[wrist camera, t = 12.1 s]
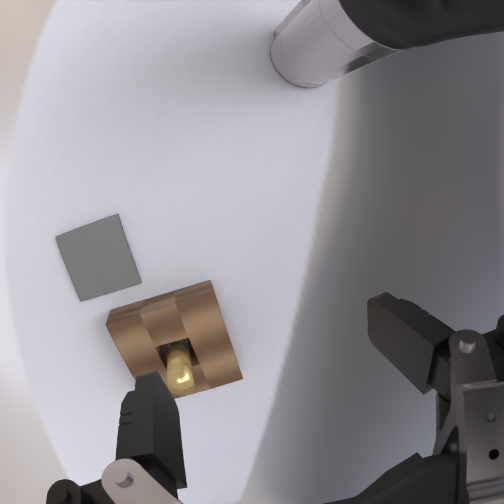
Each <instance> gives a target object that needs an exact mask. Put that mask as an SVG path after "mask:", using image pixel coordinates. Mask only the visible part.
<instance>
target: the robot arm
mask: <svg viewBox="0 0 504 504" xmlns="http://www.w3.org/2000/svg"><path fill="white" fill-rule="evenodd" d="M501 31H504V0H301V1H300V2H299V3H298V5H297V6H296V7H295V8H294V9H293V10H292V11H291V12H290V13H289V15H288V16H287V17H286V18H285V19H284V20H283V21H282V23H281V24H280V25H279V26H278V27H277V28H276V30H275V31H274V32H275V39H274V41H273V43H272V46H271V59H272V62H273V64H274V66H275V68H276V70H277V71H278V72H279V74H280V75H281V76H282V77H283V78H285V79H286V80H287V81H289V82H290V83H292V84H295V85H297V86H300V87H305V88H313V87H318V86H320V85H322V84H325V83H328V82H330V81H331V80H333V79H336V78H338V77H340V76H342V75H344V74H347V73H349V72H351V71H353V70H356V69H358V68H360V67H363V66H365V65H367V64H370V63H372V62H375V61H377V60H380V59H382V58H385V57H387V56H390V55H393V54H395V53H398V52H401V51H403V50H406V49H409V48H412V47H418V46H419V47H420V46H427V45H431V44H434V43H438V42H442V41H446V40H450V39H455V38H460V37H466V36H473V35H480V34H488V33H495V32H501ZM367 312H368V335H369V338H370V340H371V342H372V344H373V345H374V346H375V347H376V348H377V349H378V350H379V351H380V352H381V353H382V354H383V355H384V356H385V357H386V358H387V359H388V360H389V361H390V362H391V363H392V364H393V365H394V366H395V367H396V368H397V369H398V370H399V371H400V372H401V373H402V374H403V375H404V376H405V377H406V378H407V379H408V380H409V381H410V382H411V383H412V384H413V385H414V386H415V387H416V388H417V389H418V390H419V391H420V392H422V394H423V395H424V394H425V393H427V392H428V391H430V390H431V389H433V388H434V389H435V390H436V391H437V393H436V440H435V444H434V448H433V453H432V456H428V457H424V458H422V457H421V456H420V455H419V454H418V453H415V454H414V455H412V456H411V457H409V458H408V459H406V460H404V461H403V462H401V463H399V464H398V465H396V466H395V467H393V468H391V469H389V470H388V471H386V472H385V473H384V474H383V475H382V476H381V477H379V478H378V479H377V480H376V481H375V482H374V483H372V484H371V485H370V486H369V487H368V488H366V489H365V490H364V491H363V492H361V493H360V494H359V495H357V496H355V497H353V498H348V499H344V500H340V501H335V502H330V503H325V504H504V315H502V316H501V317H500V318H499V320H498V323H497V327H496V329H495V330H493V331H490V332H488V333H485V334H482V335H481V334H480V333H479V332H477V331H474V330H468V329H465V330H459V331H457V332H456V331H454V330H453V329H451V328H450V327H449V326H447V325H446V324H444V323H443V322H441V321H440V320H438V319H437V318H435V317H434V316H432V315H429V313H428V312H426V311H425V310H422V308H421V307H419V306H418V305H416V304H414V303H413V302H410V301H407V300H403V299H399V300H398V299H397V298H395V297H394V296H392V295H391V294H389V293H388V292H384V293H382V294H380V295H377V296H375V297H373V298H370V299H369V300H368V303H367ZM120 415H121V416H120V420H119V424H120V426H119V428H118V438H117V448H116V459H115V461H114V462H112V463H111V464H109V465H108V466H107V467H106V469H105V470H104V472H103V474H102V479H100V480H97V481H95V482H92V483H89V484H86V485H83V486H79V485H77V484H76V483H75V482H73V481H71V480H68V479H63V480H59V481H57V482H55V483H54V484H53V485H52V486H51V487H50V489H49V491H48V493H47V501H46V504H183V503H182V502H181V501H180V500H178V494H177V489H181V488H187V482H186V474H185V467H184V458H183V449H182V440H181V430H180V418H179V411H178V407H177V405H176V402H175V400H174V398H173V396H172V395H171V393H170V391H169V390H168V388H167V386H166V384H165V383H164V381H163V379H162V377H161V376H160V374H159V373H158V372H157V371H154V372H150V373H146V374H142V375H138V376H137V377H136V383H135V391H130V392H128V393H127V395H126V396H125V398H124V400H123V402H122V404H121V412H120Z"/></svg>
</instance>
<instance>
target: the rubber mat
mask: <svg viewBox="0 0 504 504" xmlns="http://www.w3.org/2000/svg"><path fill="white" fill-rule="evenodd" d="M55 238H56V241H57V244H58V247H59V249H60V252H61V255H62V258H63V260H64V263H65V265H66V268H67V270H68V273H69V275H70V278H71V280H72V283H73V285H74V287H75V290H76V292H77V294H78V297H79V299H80V301H81V302H82V301H85V300H88V299H92V298H95V297H98V296H101V295H105V294H108V293H111V292H114V291H118V290H121V289H124V288H127V287H131V286H134V285H137V284H140V283H141V279H140V277H139V274H138V271H137V269H136V266H135V263H134V260H133V257H132V255H131V252H130V249H129V246H128V243H127V240H126V237H125V234H124V231H123V228H122V225H121V221H120V218H119V215H118V214H116V215H113V216H111V217H108V218H105V219H102V220H99V221H96V222H94V223H91V224H88V225H85V226H83V227H80V228H77V229H75V230H72V231H70V232H67V233H64V234H62V235H59V236H57V237H55Z"/></svg>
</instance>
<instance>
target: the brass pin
mask: <svg viewBox="0 0 504 504" xmlns="http://www.w3.org/2000/svg"><path fill="white" fill-rule="evenodd" d="M167 383H168V389H169V391H170V392H172V393H173V394H175V395H187V394H189V393H191V392H192V391H193V390H194V379H193V372H192V365H191V358H190V350H189V342H188V338H185V339H181V340H178V341H174V342H171V343H167Z"/></svg>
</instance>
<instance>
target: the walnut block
mask: <svg viewBox="0 0 504 504" xmlns="http://www.w3.org/2000/svg"><path fill="white" fill-rule="evenodd" d="M106 327H107V329H108V331H109V333H110V335H111V337H112V339H113V341H114V343H115V344H116V346H117V348H118V350H119V352H120V354H121V356H122V358H123V359H124V361H125V363H126V365H127V366H128V368H129V370H130V372H131V373H132V375H133V377H134V379H135V380H136V377H137V376H138V375H142V374H146V373H150V372H154V371H157V372H158V373H159V374H160V376H161V377H162V379H163V381H164V383H165V384H166V386H167V388H168V383H167V354H166V352H165V350H164V348H163V345H164V344H167V343H171V342H174V341H178V340H181V339H185V338H188V337H189V340H190V342H191V344H192V347H193V349H191V350H190V358H191V365H192V372H193V379H194V390H193V391H192V392H191V393H189V394H187V395H190V394H194V393H198V392H201V391H205V390H208V389H212V388H215V387H218V386H222V385H225V384H228V383H232V382H235V381H238V380H241V379H243V376H242V374H241V371H240V368H239V365H238V362H237V359H236V356H235V354H234V351H233V348H232V345H231V342H230V339H229V336H228V333H227V330H226V327H225V324H224V321H223V318H222V315H221V311H220V308H219V305H218V302H217V299H216V296H215V293H214V290H213V287H212V284H211V281H210V280H209V281H206V282H203V283H200V284H196V285H193V286H190V287H187V288H183V289H180V290H177V291H173V292H170V293H167V294H164V295H160V296H157V297H154V298H150V299H147V300H144V301H140V302H137V303H133V304H130V305H127V306H123V307H120V308H117V309H113V310H111V312H110V314H109V317H108V320H107V322H106ZM168 390H169V389H168ZM170 393H171V395H172V396H173V398H174V399H175V398H179V397H183V396H186V395H175V394H173V393H172V392H170Z"/></svg>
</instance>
